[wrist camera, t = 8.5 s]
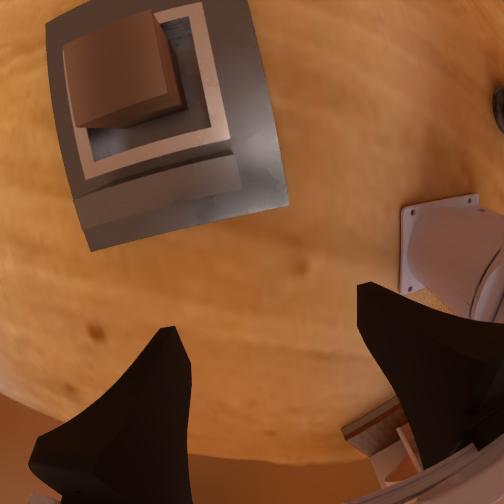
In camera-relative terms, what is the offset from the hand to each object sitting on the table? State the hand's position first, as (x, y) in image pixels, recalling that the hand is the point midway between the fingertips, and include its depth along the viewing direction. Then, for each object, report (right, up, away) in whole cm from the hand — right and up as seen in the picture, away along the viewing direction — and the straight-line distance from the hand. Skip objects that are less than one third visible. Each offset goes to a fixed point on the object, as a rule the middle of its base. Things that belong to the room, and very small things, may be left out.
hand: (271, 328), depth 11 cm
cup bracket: (-7, +13, +5) cm, 16 cm away
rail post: (-7, +13, +4) cm, 15 cm away
